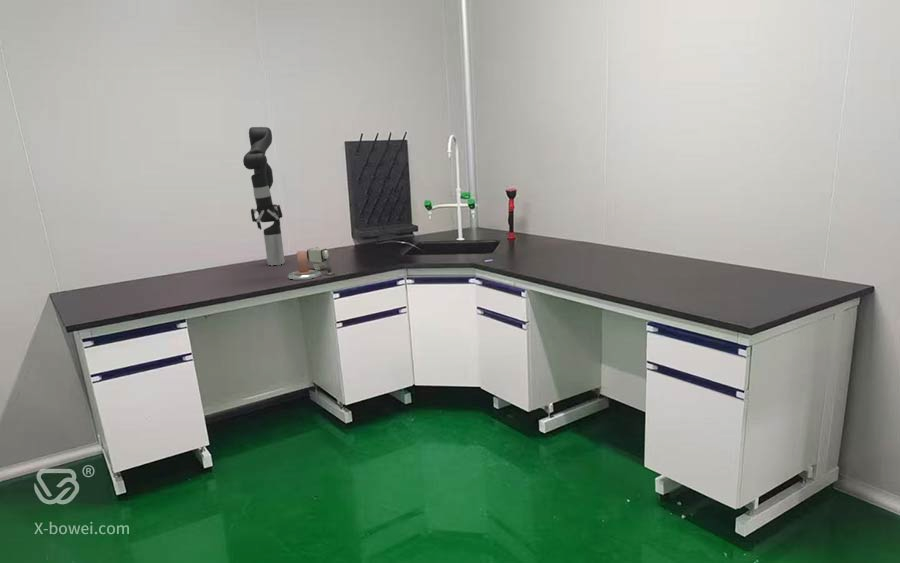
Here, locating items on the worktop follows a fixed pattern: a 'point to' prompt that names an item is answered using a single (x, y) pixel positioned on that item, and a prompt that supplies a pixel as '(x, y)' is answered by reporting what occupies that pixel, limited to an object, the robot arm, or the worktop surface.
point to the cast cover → (302, 263)
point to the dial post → (327, 256)
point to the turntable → (304, 277)
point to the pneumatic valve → (316, 257)
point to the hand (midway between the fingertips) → (269, 227)
